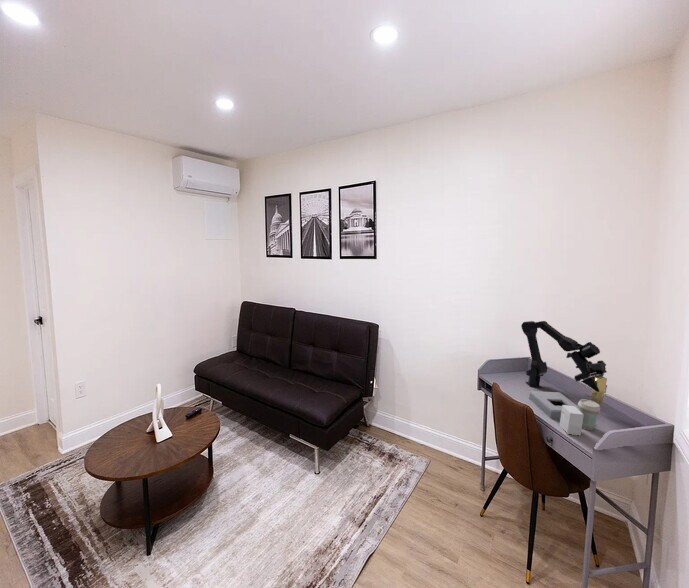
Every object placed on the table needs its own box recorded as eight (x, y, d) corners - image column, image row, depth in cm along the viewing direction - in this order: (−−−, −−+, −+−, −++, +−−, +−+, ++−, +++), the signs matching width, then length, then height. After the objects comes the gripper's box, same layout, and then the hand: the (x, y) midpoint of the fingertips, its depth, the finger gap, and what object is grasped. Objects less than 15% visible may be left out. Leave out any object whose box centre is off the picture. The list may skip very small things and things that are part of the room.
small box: (580, 436, 146) (584, 414, 144) (566, 434, 147) (570, 413, 145) (572, 426, 153) (575, 405, 152) (559, 424, 155) (562, 404, 153)
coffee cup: (587, 421, 158) (591, 398, 156) (601, 431, 150) (606, 407, 148) (570, 421, 158) (574, 398, 156) (583, 431, 149) (587, 407, 147)
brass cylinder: (587, 398, 169) (592, 375, 166) (597, 399, 168) (602, 375, 166) (594, 403, 164) (599, 379, 161) (605, 404, 164) (609, 380, 161)
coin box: (529, 398, 180) (530, 391, 179) (558, 399, 179) (559, 392, 179) (550, 418, 160) (551, 409, 159) (583, 419, 160) (584, 411, 159)
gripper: (584, 357, 162) (605, 387, 154) (605, 353, 170) (627, 381, 162) (565, 366, 170) (585, 395, 162) (586, 362, 178) (606, 389, 170)
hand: (601, 390), depth 164 cm, fingers closed on brass cylinder, 5 cm apart
